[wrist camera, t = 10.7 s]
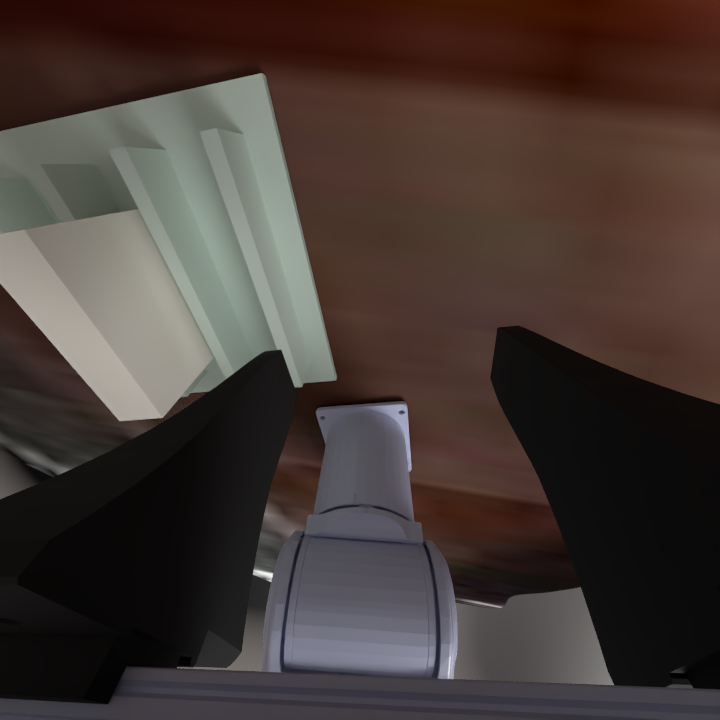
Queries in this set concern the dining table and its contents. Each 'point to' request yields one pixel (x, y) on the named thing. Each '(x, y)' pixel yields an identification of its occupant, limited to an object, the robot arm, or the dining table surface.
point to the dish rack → (188, 211)
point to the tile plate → (108, 309)
